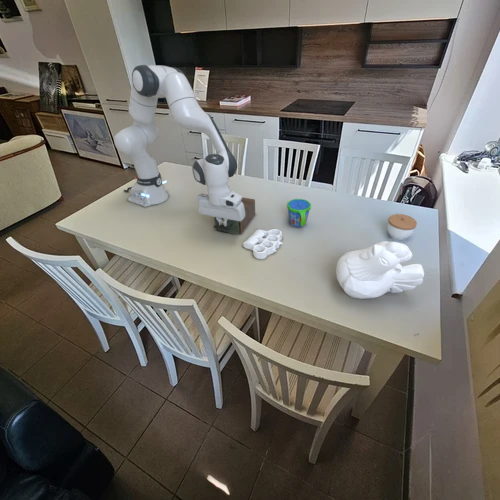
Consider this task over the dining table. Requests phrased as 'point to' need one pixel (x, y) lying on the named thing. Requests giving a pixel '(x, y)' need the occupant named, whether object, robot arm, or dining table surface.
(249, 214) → the cabinet
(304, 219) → the snack cup
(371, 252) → the decorative rooster
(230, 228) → the drawer
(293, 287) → the dining table surface
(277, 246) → the white brass knuckles
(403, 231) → the trinket box
